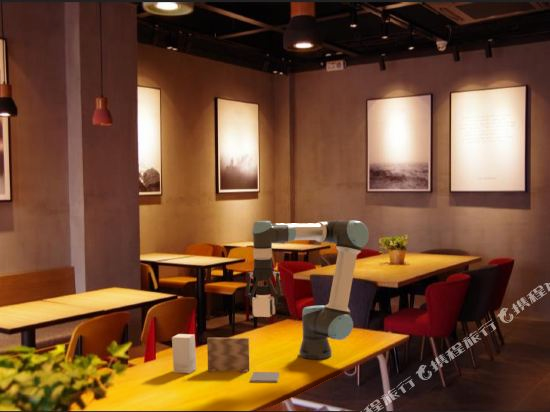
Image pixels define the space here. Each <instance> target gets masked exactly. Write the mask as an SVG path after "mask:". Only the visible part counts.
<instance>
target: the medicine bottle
mask: <svg viewBox="0 0 550 412" xmlns="http://www.w3.org/2000/svg"><path fill="white" fill-rule="evenodd" d="M271 295H272V291H271V289H270V287H269V285H257V288H256V290H255V299H254V300H253V306H252V310H253V309H254V314H253V317H257V318H258V317H259V318H261V317H265V318H270V317H272V316H273V315H274V314H273V313H272V298H273V297H274V296H271Z"/></svg>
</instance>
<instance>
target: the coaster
mask: <svg viewBox="0 0 550 412" xmlns="http://www.w3.org/2000/svg"><path fill="white" fill-rule="evenodd" d="M279 377H280V371H253V373H252V375H251V377H250V379H249V382H250V383H278V380H279Z"/></svg>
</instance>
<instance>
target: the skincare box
mask: <svg viewBox="0 0 550 412" xmlns="http://www.w3.org/2000/svg"><path fill="white" fill-rule="evenodd" d="M195 337H196V336H195V334H191V333H190V334H189V333H188V334H187V333H178V334H176V335H174V336H172V337H171V343H172V347H171V348H172V361H173V362H172V365H173V366H172V367H173V373H176V374H177V373H179V374H191V373H193V372H195V371H196V370H197V358H196V357H197V356H196V352H197V351H196V340H195V339H196V338H195Z"/></svg>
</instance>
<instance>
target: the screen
mask: <svg viewBox="0 0 550 412" xmlns="http://www.w3.org/2000/svg"><path fill="white" fill-rule="evenodd" d="M206 340H207V347H206V348H207V349H206V350H207V372H208V373H216V372H217V371H218V372H219V371H221V372H222V371H223V372H224V371H225V372H229V371H231V372H240V373H248V372H249V371H250V337H207V339H206Z"/></svg>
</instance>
